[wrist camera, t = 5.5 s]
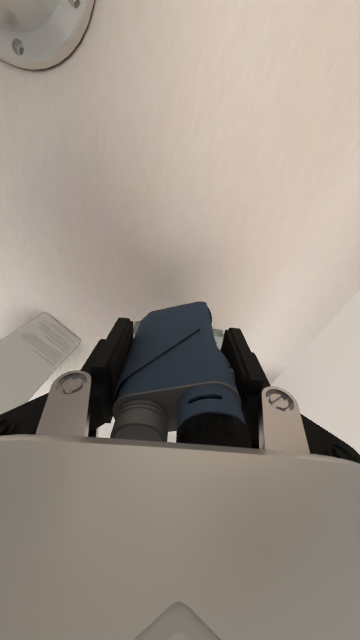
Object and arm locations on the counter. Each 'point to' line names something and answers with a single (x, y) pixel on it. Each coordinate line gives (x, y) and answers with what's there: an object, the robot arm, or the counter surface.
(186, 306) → the vaping device
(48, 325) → the skincare box
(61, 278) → the counter surface
